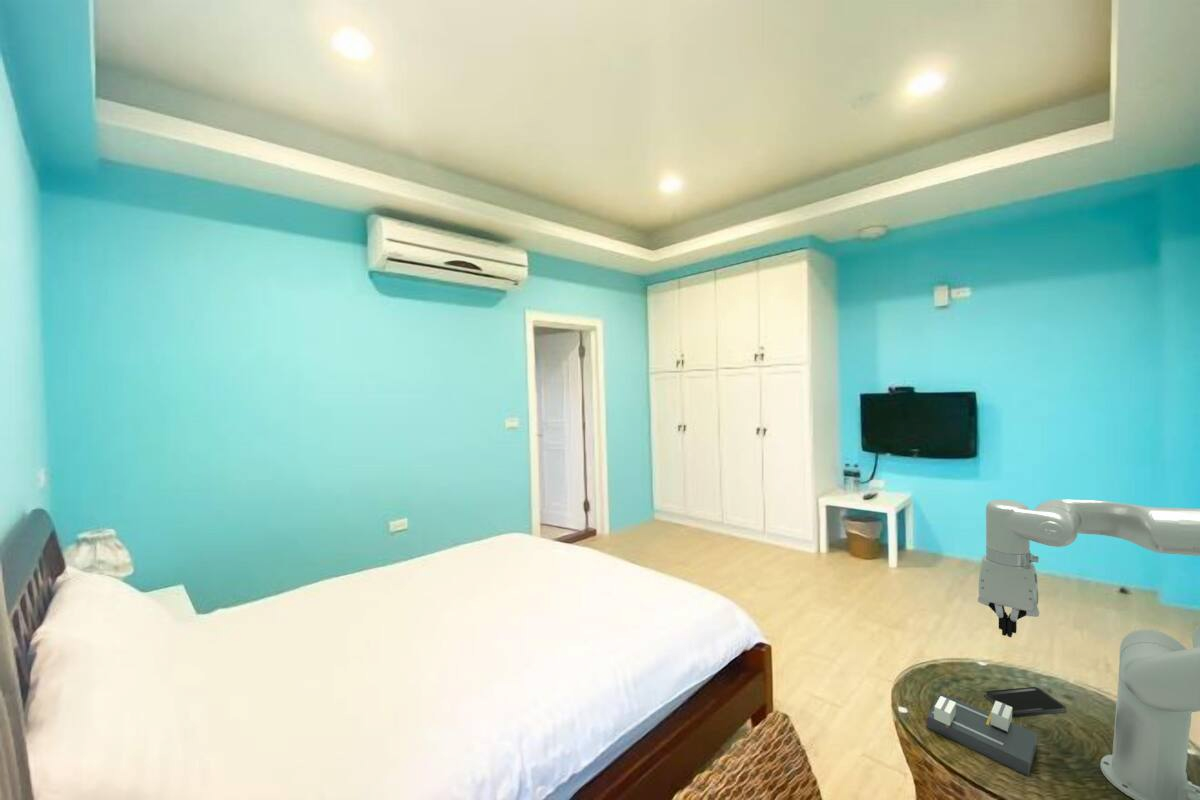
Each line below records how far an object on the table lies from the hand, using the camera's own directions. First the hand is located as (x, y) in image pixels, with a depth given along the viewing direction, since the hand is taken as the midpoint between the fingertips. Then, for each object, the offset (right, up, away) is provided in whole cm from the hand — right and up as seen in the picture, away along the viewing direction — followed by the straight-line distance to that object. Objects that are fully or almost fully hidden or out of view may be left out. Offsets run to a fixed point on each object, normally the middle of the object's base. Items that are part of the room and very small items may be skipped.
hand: (1007, 633), depth 110 cm
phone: (+12, -22, +9) cm, 27 cm away
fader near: (-13, -20, +2) cm, 24 cm away
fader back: (-2, -20, -1) cm, 20 cm away
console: (-6, -23, 0) cm, 24 cm away
